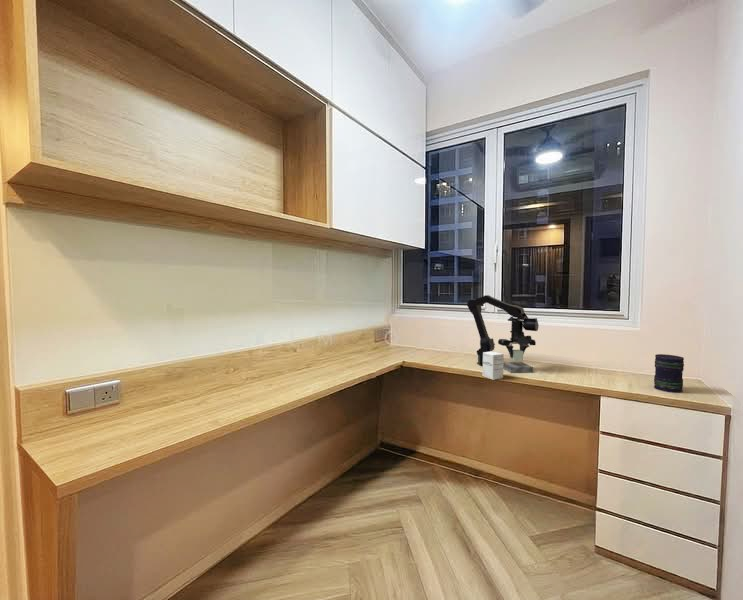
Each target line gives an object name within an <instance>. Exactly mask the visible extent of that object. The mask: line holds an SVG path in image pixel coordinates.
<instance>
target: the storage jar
mask: <svg viewBox="0 0 743 600" xmlns="http://www.w3.org/2000/svg"><path fill="white" fill-rule="evenodd" d="M654 357H655V358H654V368H655V370H654V371H655V374H654V377H653V382H654V383H653V384H654V386H653V389H655V390H658V391H661V392H666V393H672V394H674V393H675V394H681V393H683V387H684V379H683V372H684V370H685V369H684V368H685V364H684V362H685V361H684V359H685V357H683V356H679V355H674V354H667V353H666V354H662V353H661V354H657V353H656V354H655V355H654Z"/></svg>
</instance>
